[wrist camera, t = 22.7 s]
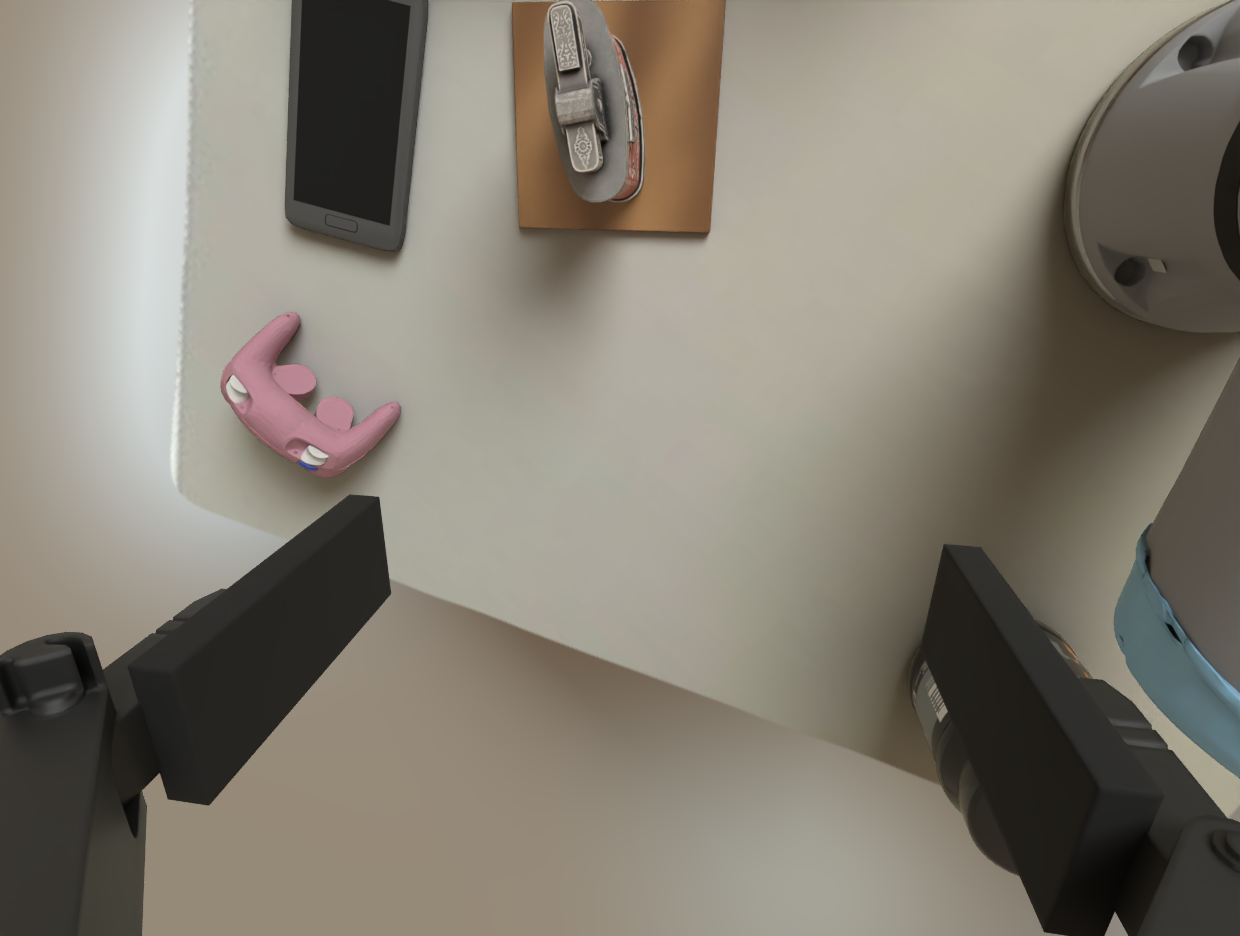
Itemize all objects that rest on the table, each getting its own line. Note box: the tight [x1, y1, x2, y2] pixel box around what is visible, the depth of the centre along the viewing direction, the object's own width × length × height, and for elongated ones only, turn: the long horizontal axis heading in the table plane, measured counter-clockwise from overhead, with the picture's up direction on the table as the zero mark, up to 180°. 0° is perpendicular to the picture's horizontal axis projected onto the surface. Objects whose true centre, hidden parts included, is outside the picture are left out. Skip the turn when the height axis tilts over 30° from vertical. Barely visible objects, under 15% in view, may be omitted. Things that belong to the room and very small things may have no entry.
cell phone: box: [285, 0, 428, 251], centre depth 38 cm, size 7×14×1 cm, turn 166°
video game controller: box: [221, 312, 401, 477], centre depth 42 cm, size 10×5×7 cm, turn 47°
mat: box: [512, 0, 726, 233], centre depth 36 cm, size 11×11×1 cm
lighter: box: [544, 0, 646, 202], centre depth 31 cm, size 8×3×10 cm, turn 9°
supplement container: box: [908, 620, 1093, 876], centre depth 40 cm, size 10×10×12 cm
